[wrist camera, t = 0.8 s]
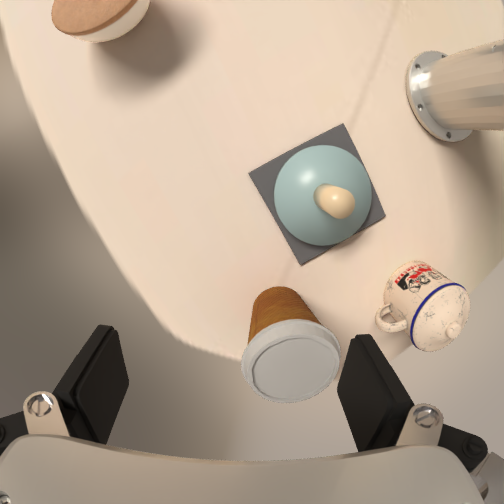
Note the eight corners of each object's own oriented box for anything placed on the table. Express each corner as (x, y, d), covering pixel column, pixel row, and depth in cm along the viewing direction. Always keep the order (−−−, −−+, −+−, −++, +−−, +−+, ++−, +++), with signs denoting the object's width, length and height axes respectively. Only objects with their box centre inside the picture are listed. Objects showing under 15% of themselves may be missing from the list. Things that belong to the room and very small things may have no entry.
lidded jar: (66, 39, 24) (26, 17, 15) (117, -24, 22) (91, -58, 13) (123, 65, 26) (88, 40, 18) (179, -3, 24) (163, -44, 15)
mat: (341, 123, 30) (343, 123, 30) (383, 215, 34) (385, 215, 33) (248, 173, 31) (248, 173, 31) (299, 263, 35) (300, 264, 35)
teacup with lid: (434, 251, 35) (488, 284, 24) (432, 306, 38) (476, 348, 27) (359, 273, 36) (402, 320, 25) (363, 331, 39) (398, 385, 28)
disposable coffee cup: (325, 320, 38) (355, 381, 26) (259, 350, 39) (268, 417, 27) (298, 260, 35) (326, 310, 23) (225, 294, 36) (222, 356, 24)
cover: (341, 129, 30) (363, 124, 24) (380, 214, 33) (406, 226, 27) (254, 175, 31) (258, 179, 25) (302, 259, 34) (314, 281, 28)
